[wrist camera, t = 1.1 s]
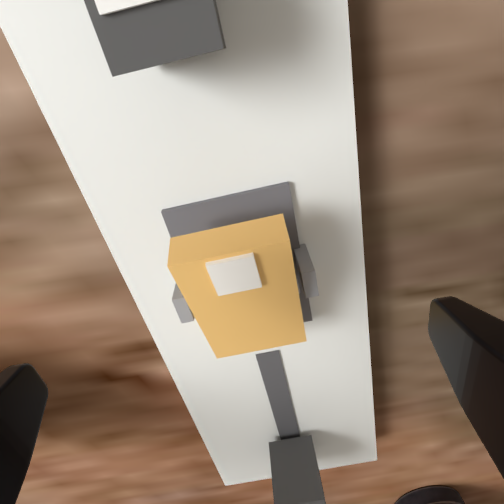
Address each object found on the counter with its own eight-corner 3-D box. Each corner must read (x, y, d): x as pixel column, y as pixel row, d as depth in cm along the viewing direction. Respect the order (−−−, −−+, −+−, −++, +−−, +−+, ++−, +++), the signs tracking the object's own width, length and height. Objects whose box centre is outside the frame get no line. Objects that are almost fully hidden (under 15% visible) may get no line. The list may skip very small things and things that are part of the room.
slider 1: (145, 68, 13) (110, 77, 9) (111, -35, 11) (52, -75, 8) (226, 48, 12) (223, 48, 9) (202, -61, 11) (187, -115, 7)
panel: (225, 460, 30) (224, 520, 26) (-28, -96, 12) (-147, -160, 8) (368, 435, 29) (389, 494, 25) (316, -197, 11) (359, -320, 8)
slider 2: (276, 465, 26) (283, 533, 22) (268, 442, 24) (274, 511, 21) (316, 458, 26) (330, 526, 22) (311, 434, 24) (325, 502, 21)
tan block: (214, 332, 19) (215, 362, 18) (167, 238, 14) (163, 270, 13) (302, 314, 19) (309, 344, 17) (285, 212, 14) (293, 243, 13)
